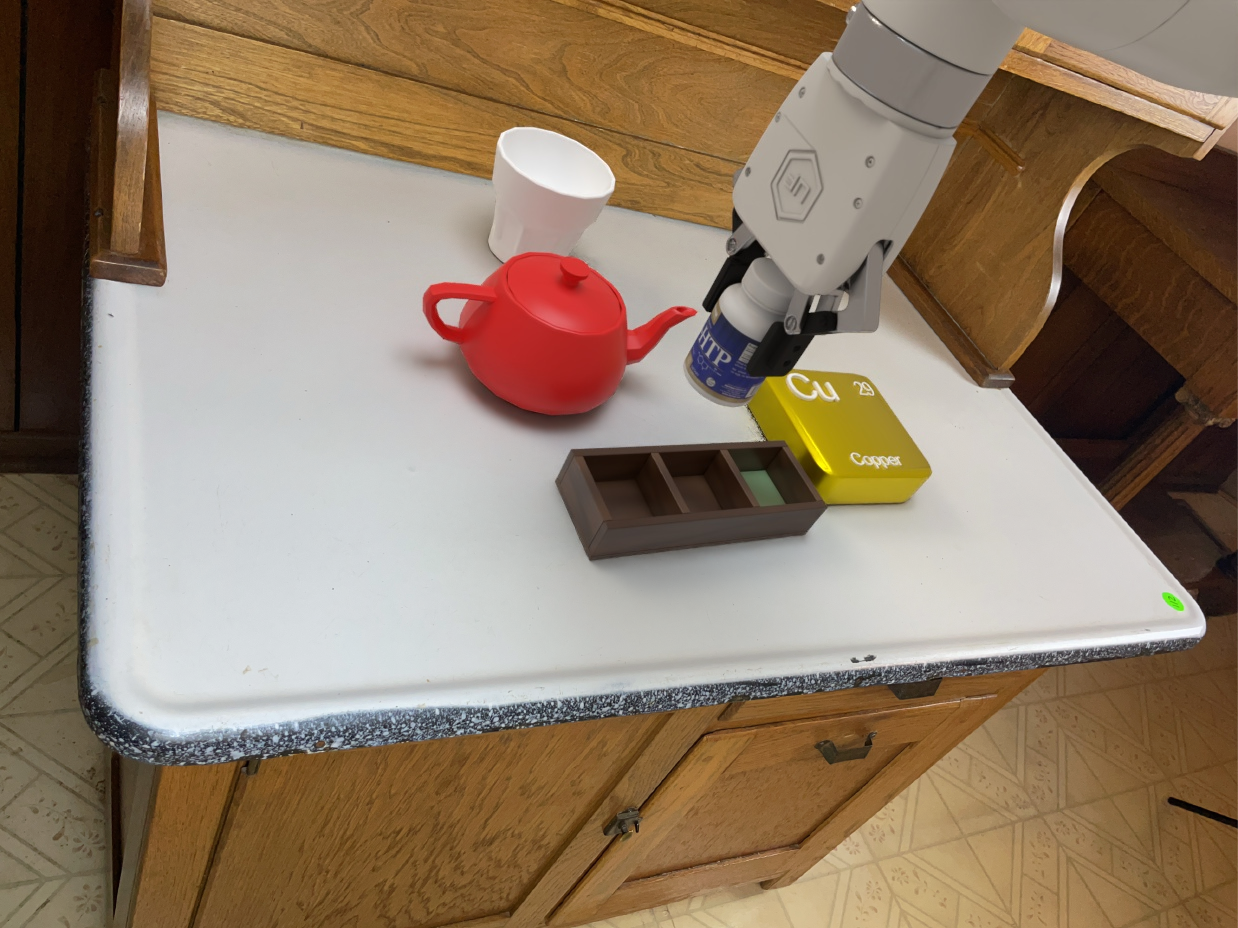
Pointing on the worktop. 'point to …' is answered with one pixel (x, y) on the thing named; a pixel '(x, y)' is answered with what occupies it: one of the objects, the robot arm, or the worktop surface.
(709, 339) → the pill bottle
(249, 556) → the worktop surface
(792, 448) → the element tile
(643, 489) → the rack
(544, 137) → the cup
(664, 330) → the teapot
